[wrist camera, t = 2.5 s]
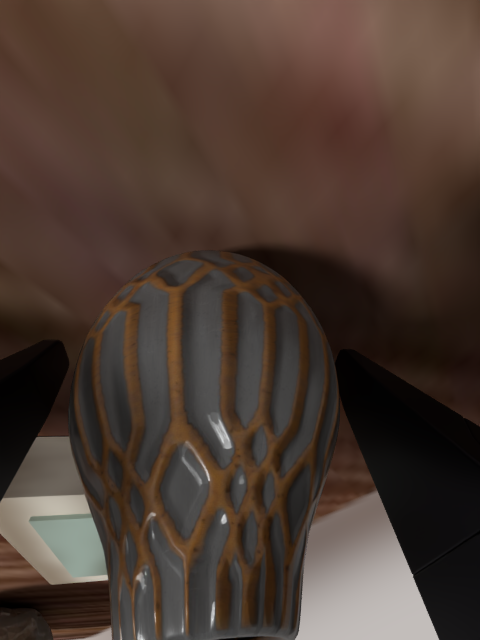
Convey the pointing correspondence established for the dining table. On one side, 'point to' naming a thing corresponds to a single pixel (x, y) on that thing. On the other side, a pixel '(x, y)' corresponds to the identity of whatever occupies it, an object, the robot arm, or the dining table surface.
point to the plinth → (52, 516)
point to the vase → (204, 447)
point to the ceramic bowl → (23, 625)
